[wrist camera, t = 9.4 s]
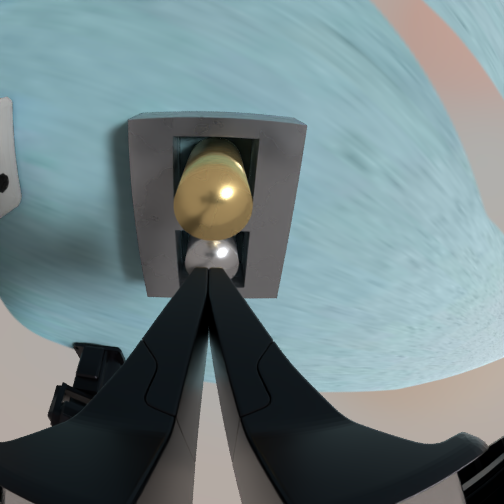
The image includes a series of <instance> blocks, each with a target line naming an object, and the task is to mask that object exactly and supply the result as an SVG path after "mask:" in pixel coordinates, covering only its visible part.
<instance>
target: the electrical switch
mask: <svg viewBox="0 0 504 504" xmlns="http://www.w3.org/2000/svg"><path fill="white" fill-rule="evenodd" d="M21 197H22V195H21V189H20V184H19V178H18V171H17V164H16V155H15V146H14V133H13V108H12V100H11V99H9V98H8V97H4V98H0V218H2V217H3V216H4V215H6V214H7V213H9V212H10V211H12V210H13V209H14V208H16V207H17V206H19V204H20V202H21Z"/></svg>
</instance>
